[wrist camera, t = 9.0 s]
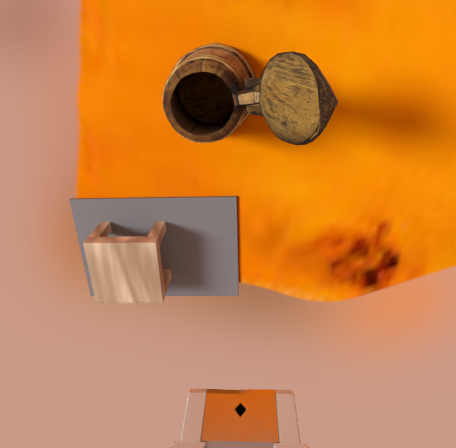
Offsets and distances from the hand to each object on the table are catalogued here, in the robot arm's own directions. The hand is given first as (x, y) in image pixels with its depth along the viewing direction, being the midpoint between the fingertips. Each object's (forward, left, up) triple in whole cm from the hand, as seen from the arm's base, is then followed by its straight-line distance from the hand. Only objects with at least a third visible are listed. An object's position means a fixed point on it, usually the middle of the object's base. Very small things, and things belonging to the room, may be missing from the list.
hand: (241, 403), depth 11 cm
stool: (+10, +13, -31) cm, 35 cm away
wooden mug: (+1, -6, -34) cm, 34 cm away
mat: (+11, +13, -34) cm, 38 cm away
